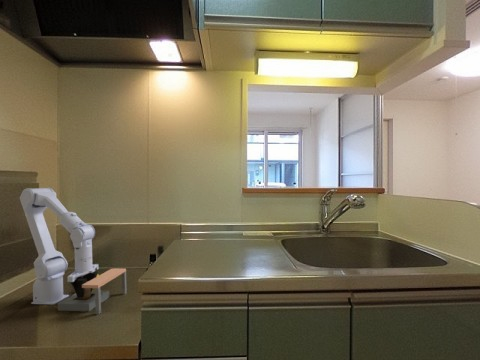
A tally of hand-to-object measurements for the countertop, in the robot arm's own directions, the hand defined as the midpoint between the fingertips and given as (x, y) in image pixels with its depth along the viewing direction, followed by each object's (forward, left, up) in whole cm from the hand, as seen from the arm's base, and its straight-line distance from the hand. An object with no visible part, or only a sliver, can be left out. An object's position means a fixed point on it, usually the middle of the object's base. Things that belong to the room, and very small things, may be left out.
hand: (84, 294), depth 104 cm
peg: (0, 0, -3) cm, 3 cm away
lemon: (-5, +12, -4) cm, 13 cm away
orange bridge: (+8, +1, -3) cm, 9 cm away
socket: (0, 0, -3) cm, 3 cm away
